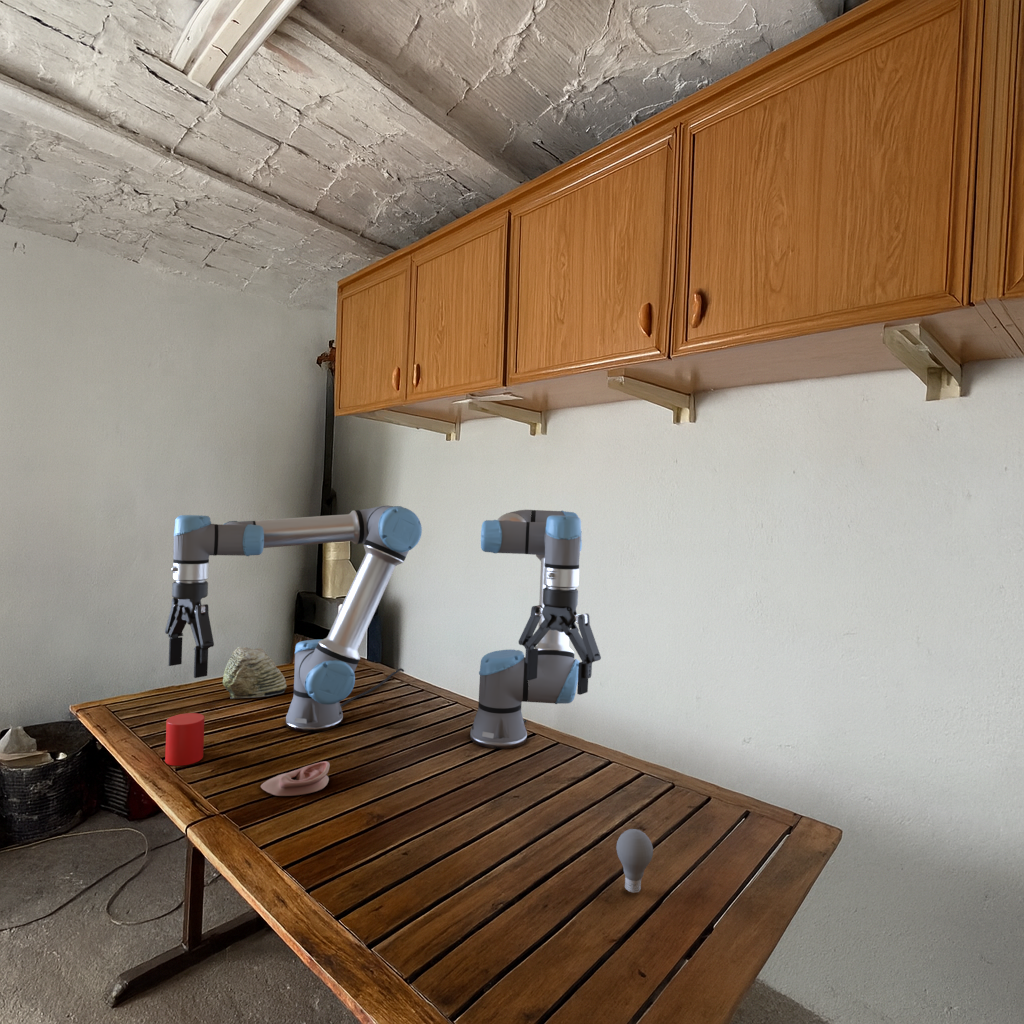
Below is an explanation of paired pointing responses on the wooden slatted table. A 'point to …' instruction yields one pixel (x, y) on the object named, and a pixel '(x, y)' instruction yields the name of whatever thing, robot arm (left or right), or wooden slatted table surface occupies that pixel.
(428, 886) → the wooden slatted table surface
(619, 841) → the light bulb
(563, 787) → the wooden slatted table surface
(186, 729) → the cylinder
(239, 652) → the fossil
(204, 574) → the left robot arm
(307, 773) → the anatomical model
